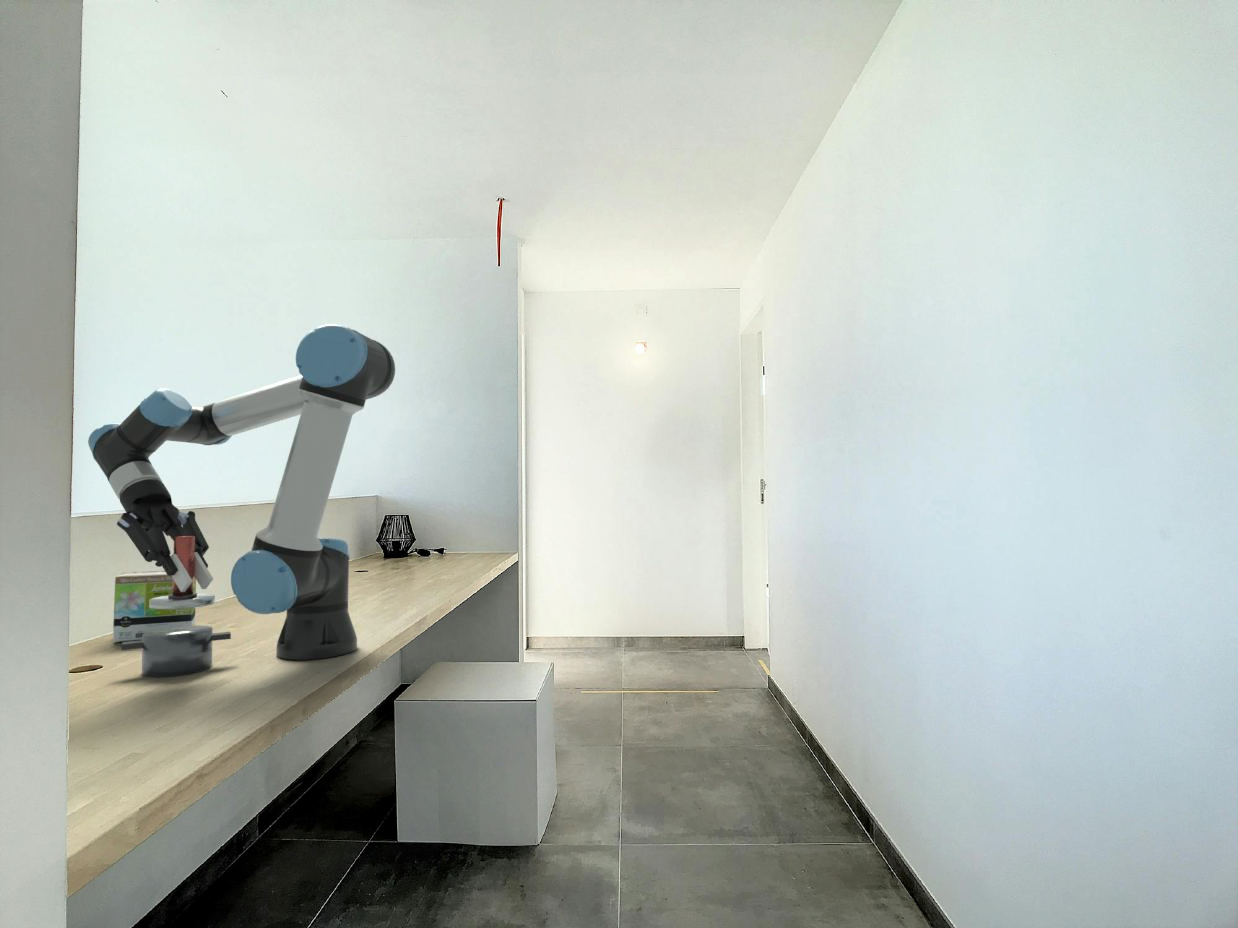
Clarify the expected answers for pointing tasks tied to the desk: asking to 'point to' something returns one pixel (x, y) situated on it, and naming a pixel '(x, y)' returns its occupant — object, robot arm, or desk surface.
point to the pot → (176, 650)
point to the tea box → (145, 605)
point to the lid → (177, 598)
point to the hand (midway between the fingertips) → (197, 585)
